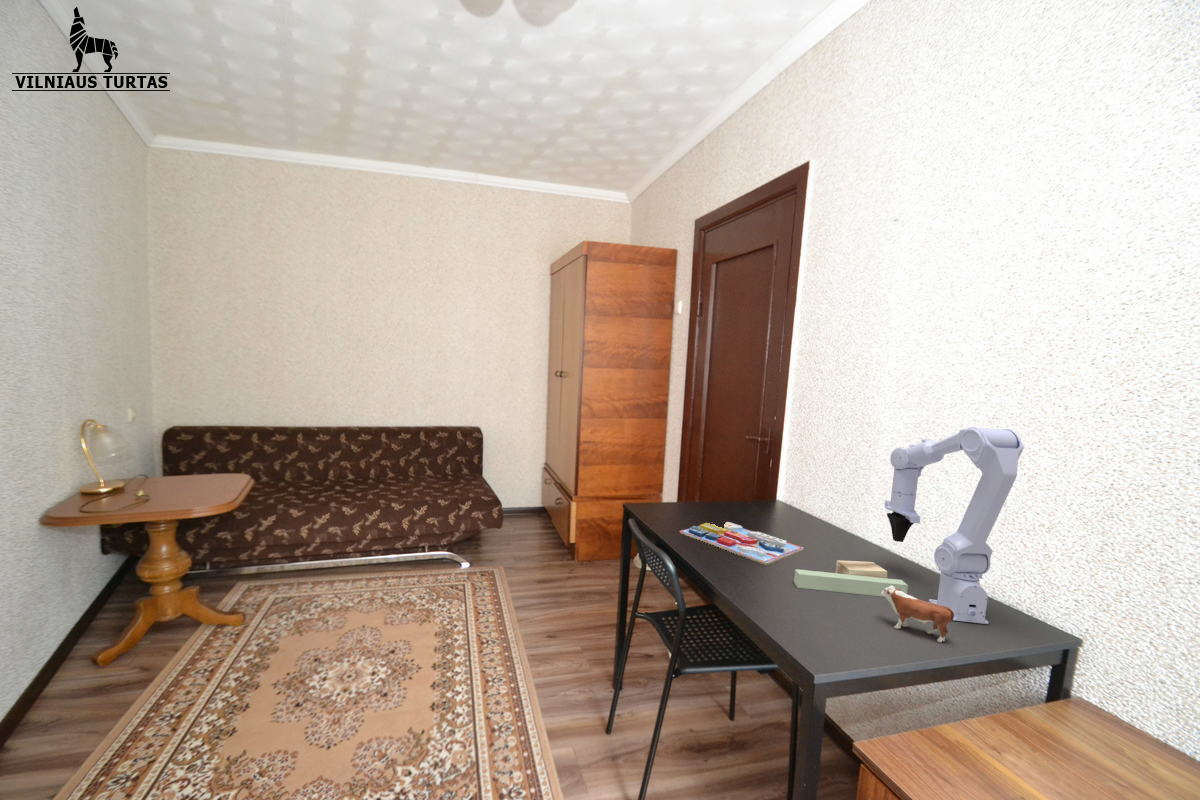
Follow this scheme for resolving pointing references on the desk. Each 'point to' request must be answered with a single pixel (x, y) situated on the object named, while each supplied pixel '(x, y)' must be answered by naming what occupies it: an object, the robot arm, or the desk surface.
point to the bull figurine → (918, 611)
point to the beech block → (860, 569)
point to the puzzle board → (744, 542)
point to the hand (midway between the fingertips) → (898, 540)
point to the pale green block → (845, 582)
